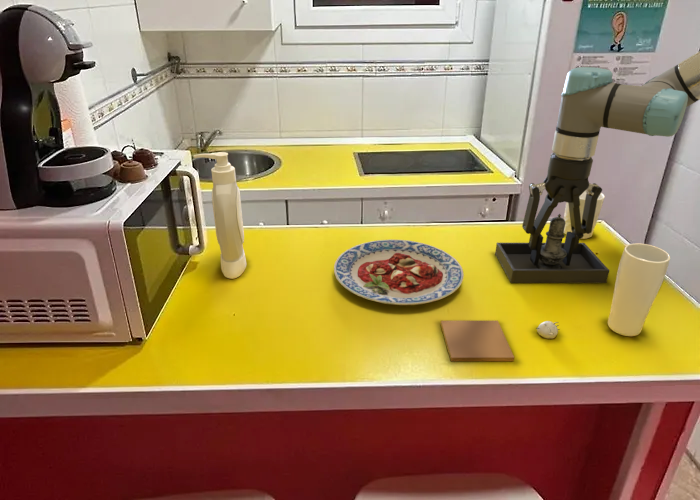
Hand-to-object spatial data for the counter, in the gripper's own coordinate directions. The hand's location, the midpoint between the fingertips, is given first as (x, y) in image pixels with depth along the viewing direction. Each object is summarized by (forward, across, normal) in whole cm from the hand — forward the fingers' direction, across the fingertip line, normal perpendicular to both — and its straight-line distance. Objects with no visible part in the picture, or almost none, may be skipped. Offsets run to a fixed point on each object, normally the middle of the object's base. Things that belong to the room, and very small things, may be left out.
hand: (549, 262), depth 108 cm
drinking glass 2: (+2, -6, +21) cm, 22 cm away
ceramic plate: (+2, +32, +4) cm, 32 cm away
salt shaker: (+1, 0, 0) cm, 1 cm away
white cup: (+2, -13, -17) cm, 21 cm away
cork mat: (+1, +21, +25) cm, 33 cm away
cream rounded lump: (+2, +8, +23) cm, 24 cm away
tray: (+1, 0, 0) cm, 1 cm away
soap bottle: (+1, +67, 0) cm, 67 cm away
